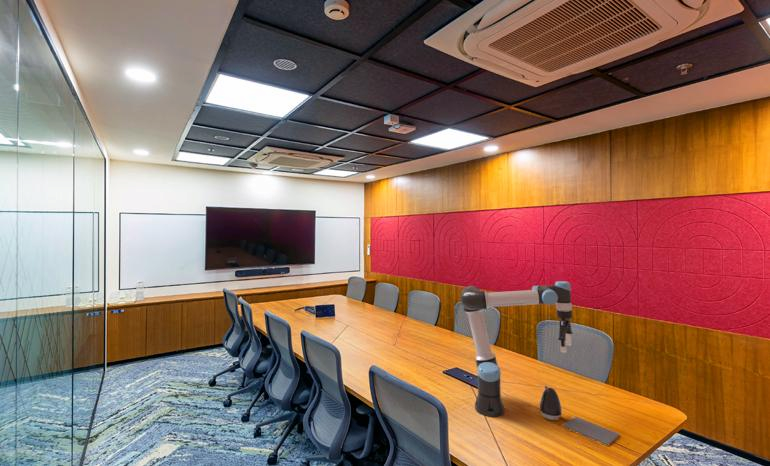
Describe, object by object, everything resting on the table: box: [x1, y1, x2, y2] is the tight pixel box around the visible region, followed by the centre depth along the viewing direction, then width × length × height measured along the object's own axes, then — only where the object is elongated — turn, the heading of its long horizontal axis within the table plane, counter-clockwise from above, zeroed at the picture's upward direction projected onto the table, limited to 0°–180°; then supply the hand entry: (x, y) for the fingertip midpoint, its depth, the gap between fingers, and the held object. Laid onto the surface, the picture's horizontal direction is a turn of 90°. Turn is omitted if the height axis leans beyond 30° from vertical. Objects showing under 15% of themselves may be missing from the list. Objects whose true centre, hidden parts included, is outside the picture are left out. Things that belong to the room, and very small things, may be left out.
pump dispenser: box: [539, 385, 563, 421], centre depth 180 cm, size 10×10×15 cm
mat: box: [562, 416, 621, 446], centre depth 167 cm, size 13×20×1 cm, turn 36°
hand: (566, 348), depth 192 cm, fingers open, 13 cm apart
